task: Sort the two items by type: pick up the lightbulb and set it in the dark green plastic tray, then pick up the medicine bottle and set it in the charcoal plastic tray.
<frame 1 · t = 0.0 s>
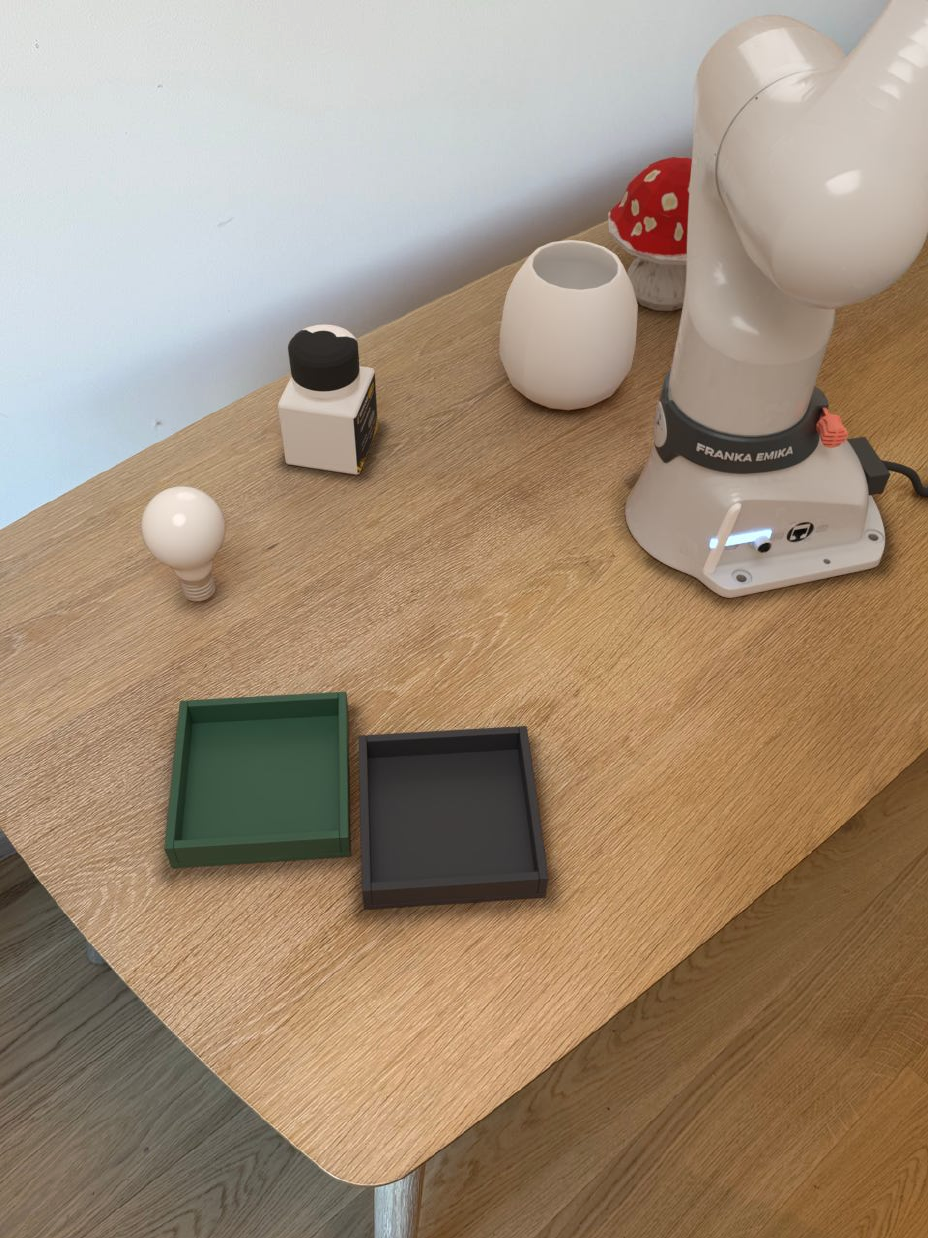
lightbulb: (200, 596, 91), on the table
bulb tray: (265, 786, 79), on the table
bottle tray: (448, 824, 78), on the table
medicine bottle: (332, 447, 104), on the table
white vase: (562, 386, 110), on the table
decorative mushroom: (660, 296, 121), on the table
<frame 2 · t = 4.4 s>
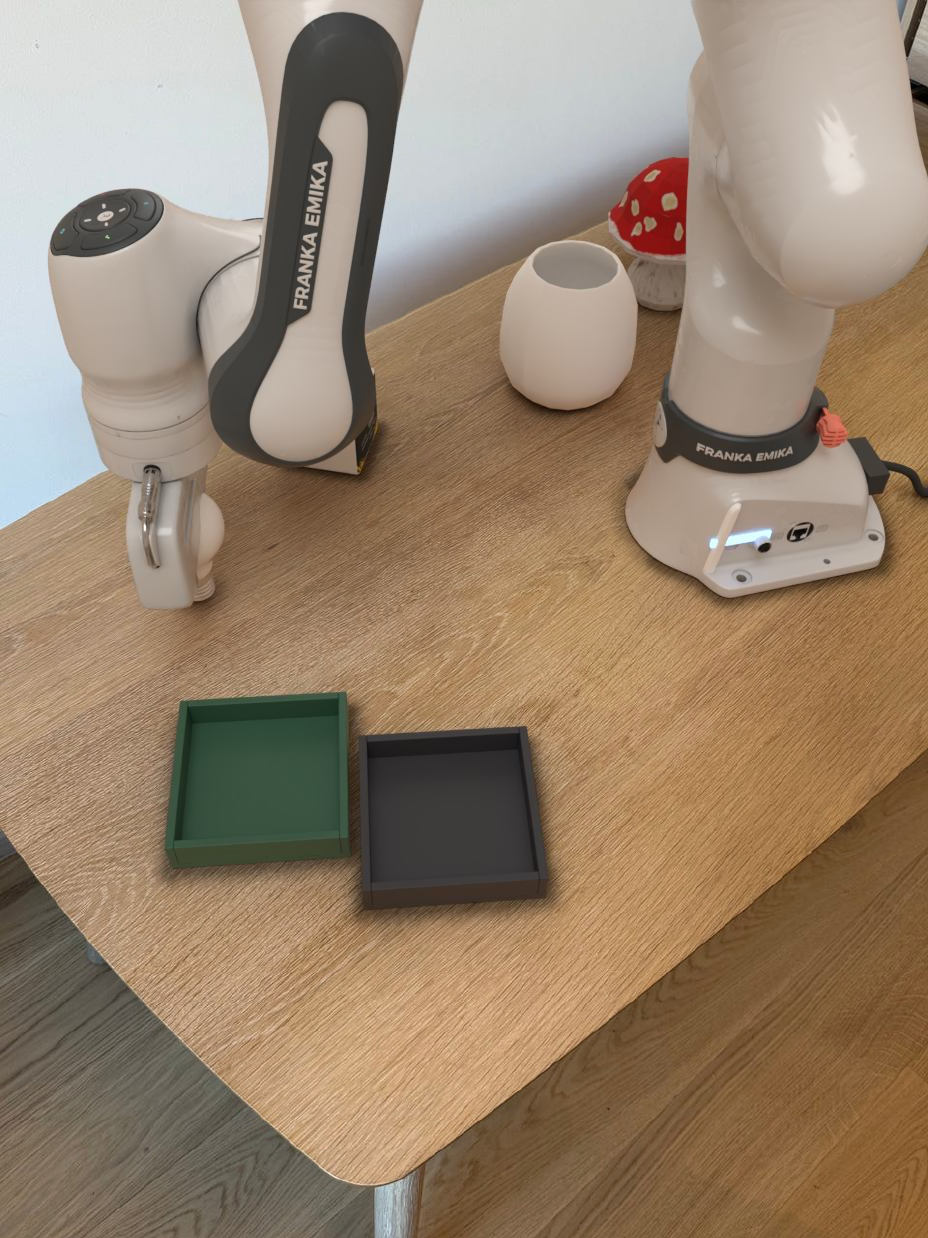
hand: (190, 559, 88), 4 cm above the table, tool pointing down, fingers closed on lightbulb, 5 cm apart
lightbulb: (200, 595, 91), on the table, touching gripper
everything else where it was.
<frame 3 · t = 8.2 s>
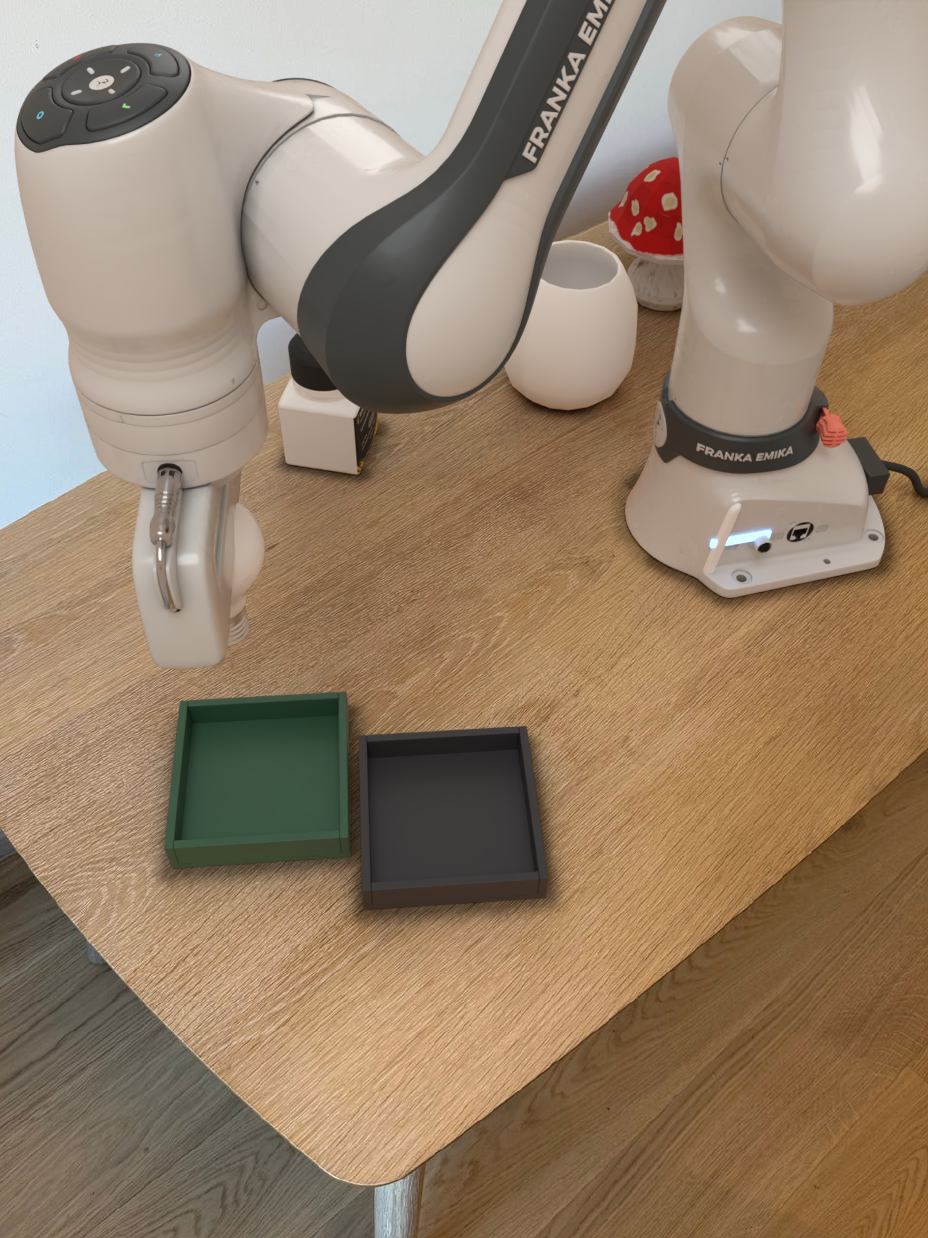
hand: (218, 591, 65), 20 cm above the table, tool pointing down, fingers closed on lightbulb, 5 cm apart
lightbulb: (230, 638, 69), point 15 cm above the table, touching gripper
everything else where it was.
when the fingers open (5 cm above the table, at t = 12.1 s): lightbulb stays where it is, resting on bulb tray.
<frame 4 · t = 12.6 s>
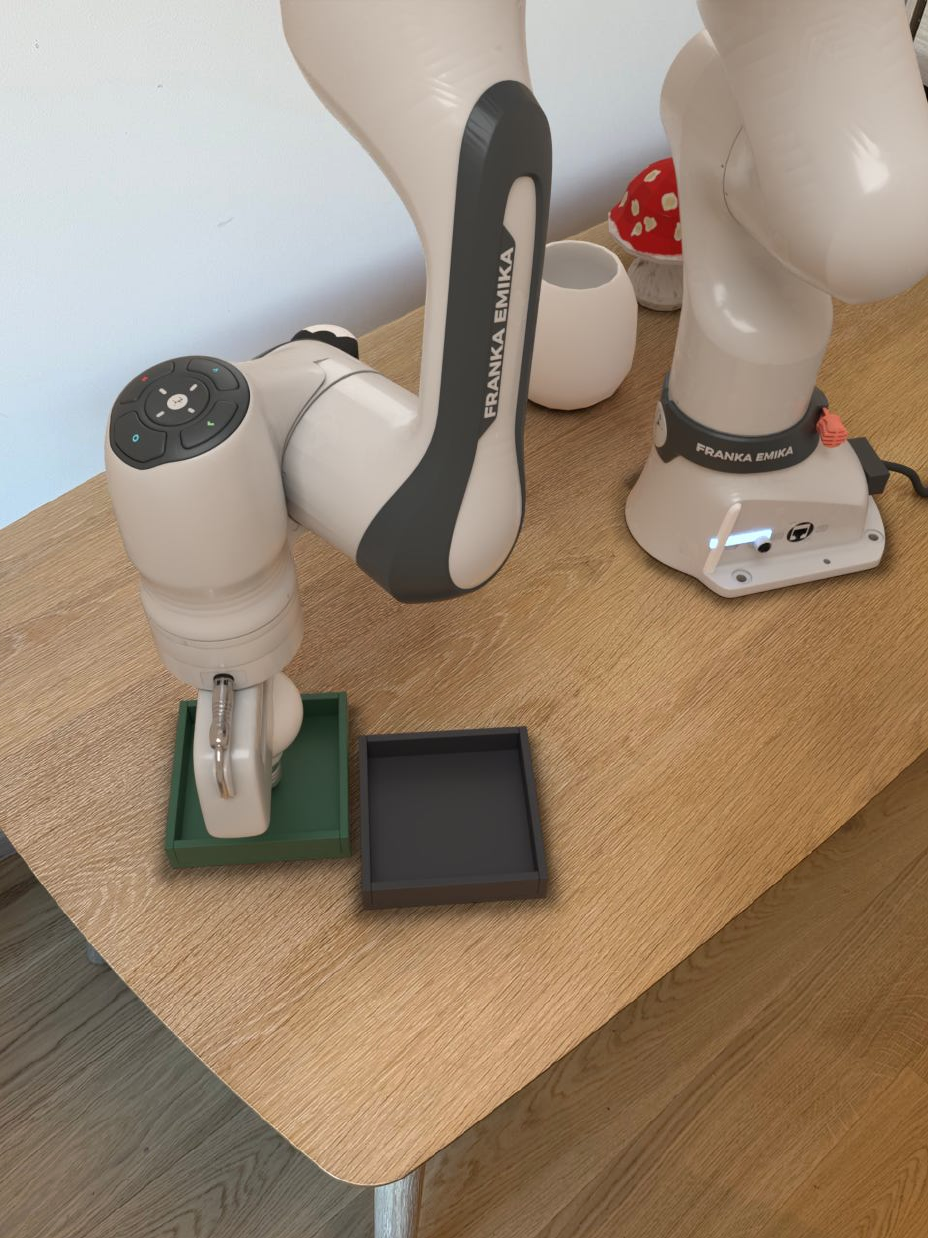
hand: (256, 746, 75), 5 cm above the table, tool pointing down, fingers open, 8 cm apart
lightbulb: (263, 782, 79), point 1 cm above the table, touching bulb tray
everything else where it was.
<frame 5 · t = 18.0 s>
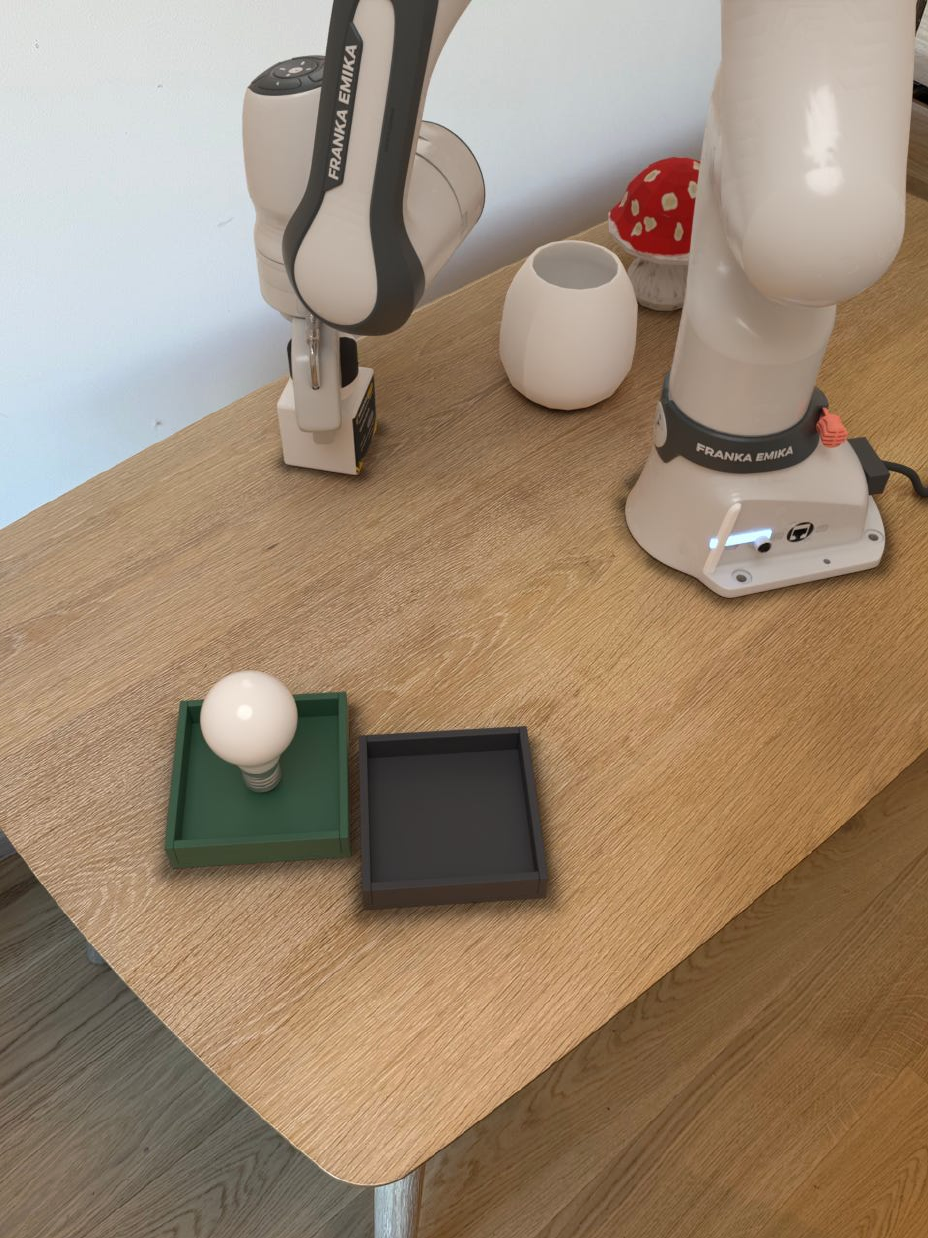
hand: (324, 405, 100), 5 cm above the table, tool pointing down, fingers closed on medicine bottle, 8 cm apart
medicine bottle: (331, 448, 104), on the table, touching gripper
everything else where it was.
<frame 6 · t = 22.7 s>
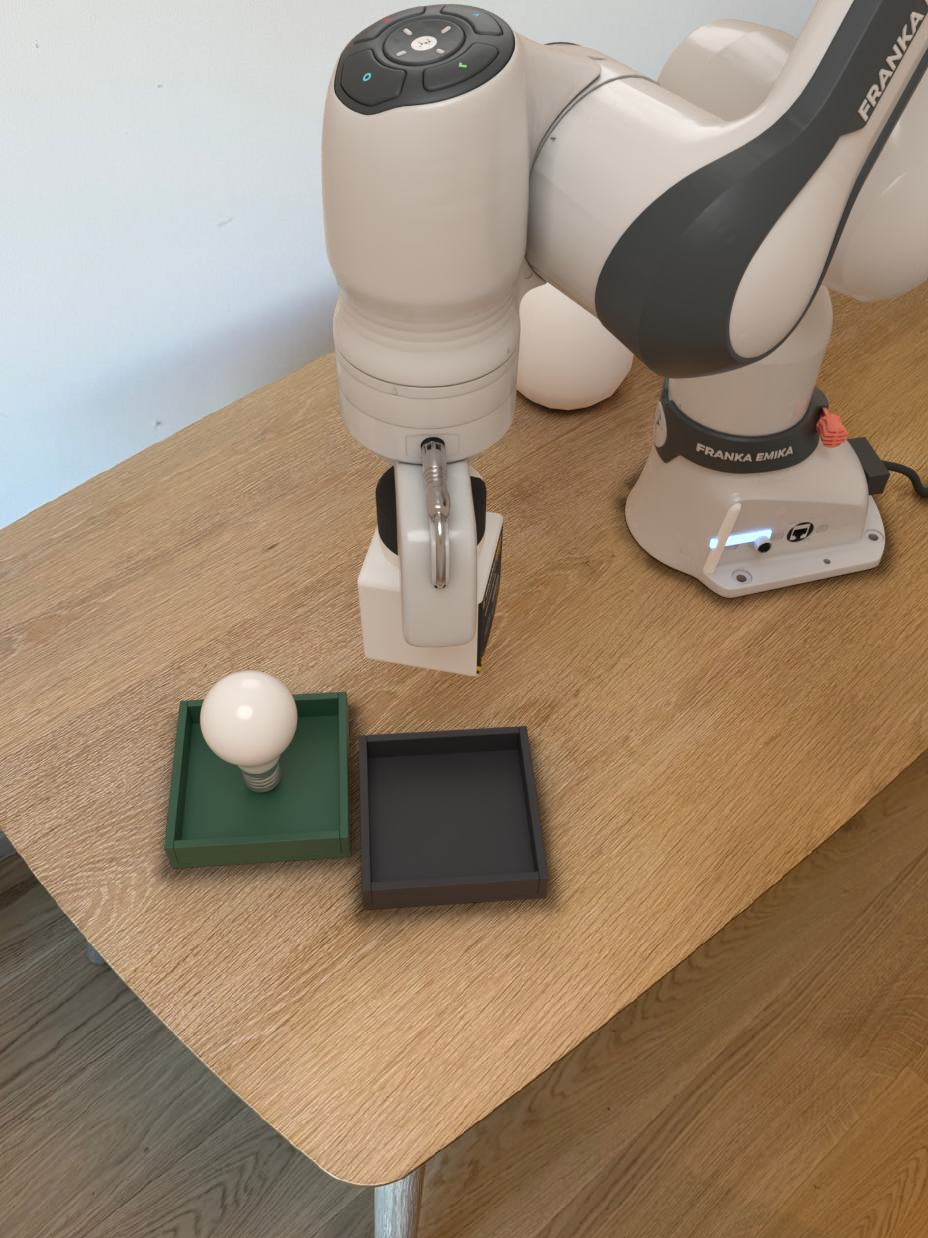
hand: (429, 571, 64), 21 cm above the table, tool pointing down, fingers closed on medicine bottle, 8 cm apart
medicine bottle: (433, 627, 68), point 16 cm above the table, touching gripper
everything else where it was.
when the fingers open (5 cm above the table, at t = 27.3 s): medicine bottle stays where it is, resting on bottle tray.
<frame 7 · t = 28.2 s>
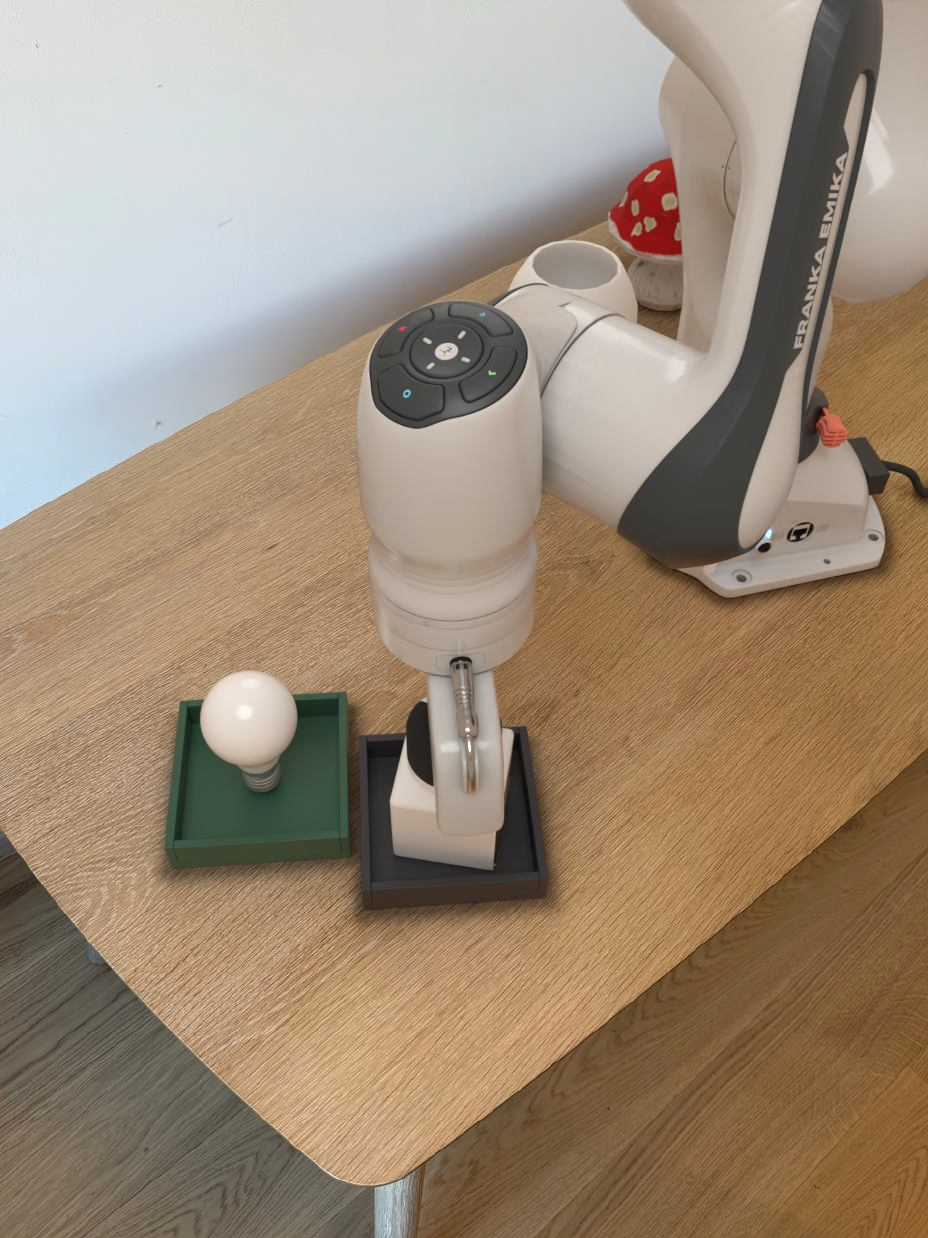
hand: (457, 736, 70), 10 cm above the table, tool pointing down, fingers open, 8 cm apart
medicine bottle: (452, 821, 77), resting on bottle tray
everything else where it was.
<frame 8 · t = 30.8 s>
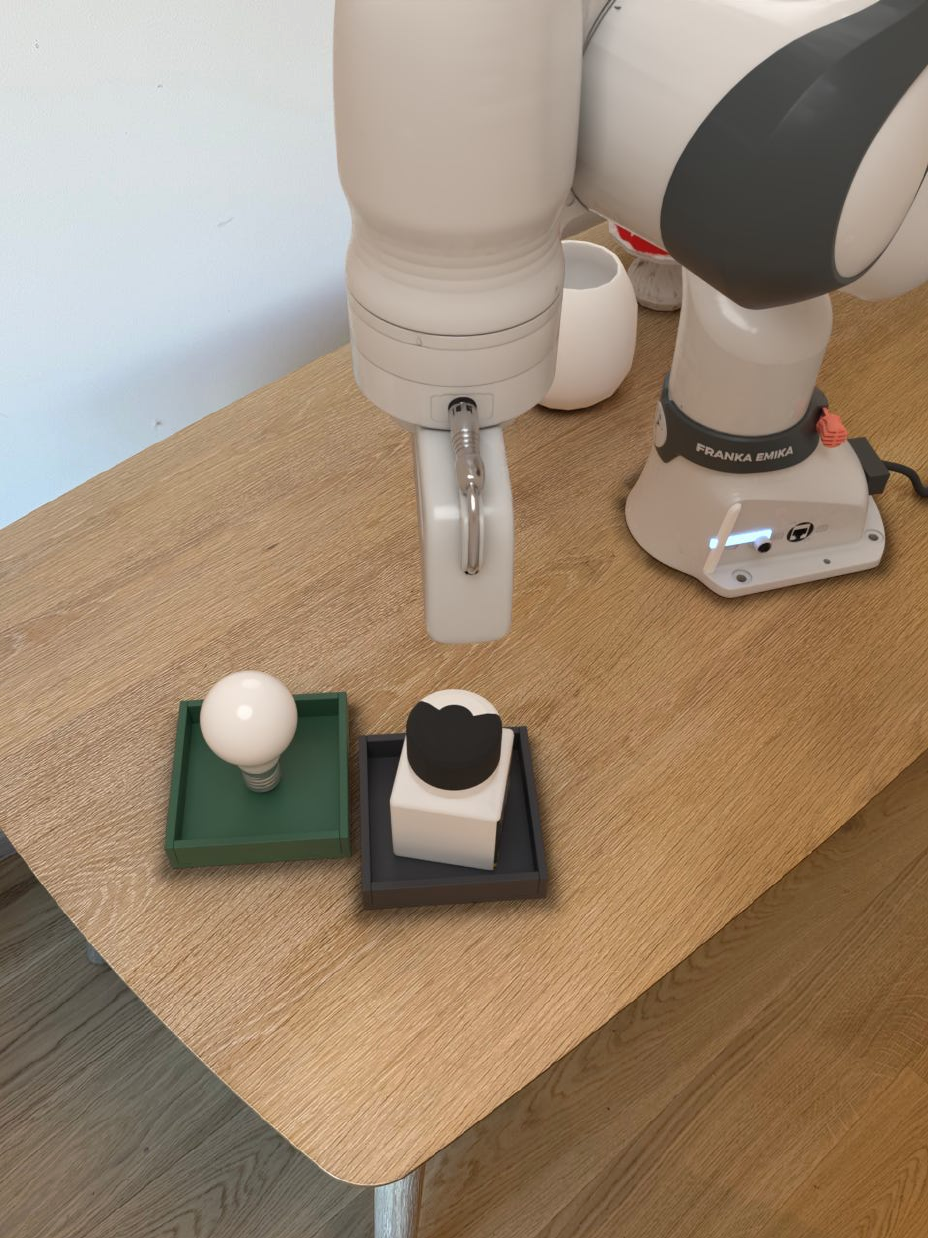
hand: (451, 559, 57), 27 cm above the table, tool pointing down, fingers open, 8 cm apart
nothing on the table moved.
at the end: lightbulb inside the target area in the bulb tray (0.1 cm from its centre), point 0.4 cm above the bulb tray's base; medicine bottle inside the target area in the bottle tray (0.3 cm from its centre), point 0.4 cm above the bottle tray's base; medicine bottle tilted 0° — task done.
